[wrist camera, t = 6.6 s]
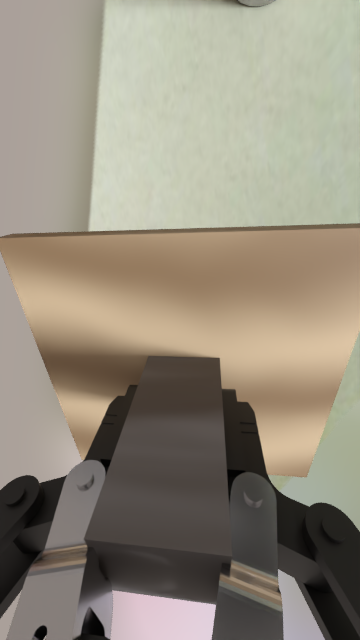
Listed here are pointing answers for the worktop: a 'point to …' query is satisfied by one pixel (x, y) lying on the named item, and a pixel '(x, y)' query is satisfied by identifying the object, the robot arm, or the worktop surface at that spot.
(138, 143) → the worktop surface
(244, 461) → the robot arm
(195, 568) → the lid
